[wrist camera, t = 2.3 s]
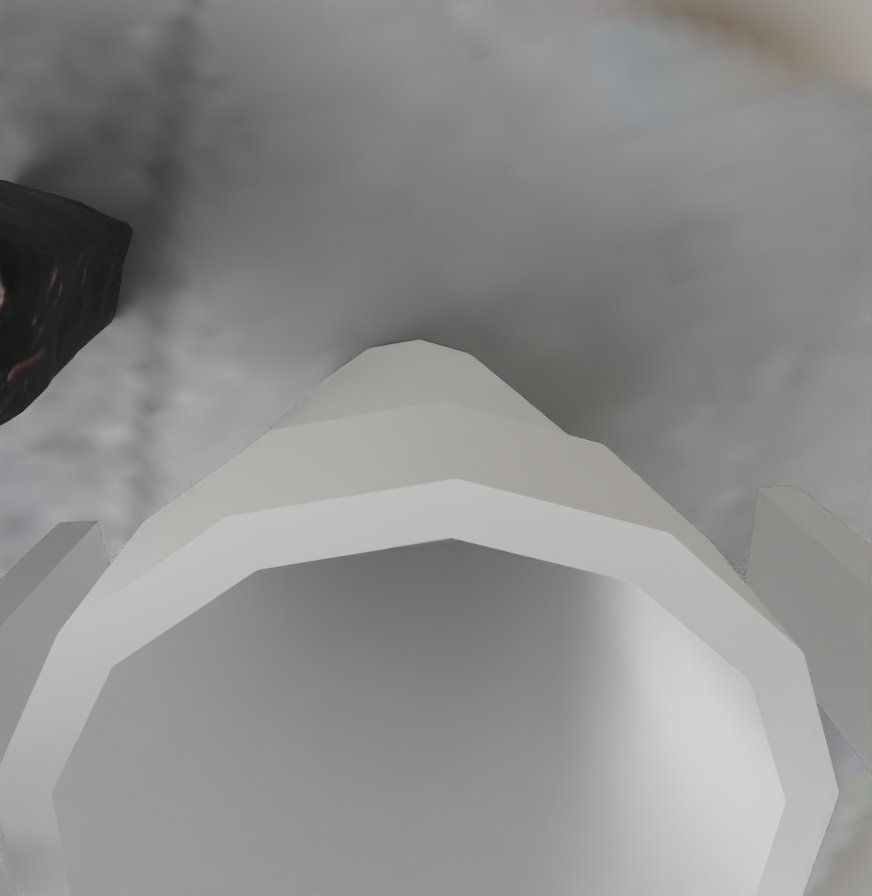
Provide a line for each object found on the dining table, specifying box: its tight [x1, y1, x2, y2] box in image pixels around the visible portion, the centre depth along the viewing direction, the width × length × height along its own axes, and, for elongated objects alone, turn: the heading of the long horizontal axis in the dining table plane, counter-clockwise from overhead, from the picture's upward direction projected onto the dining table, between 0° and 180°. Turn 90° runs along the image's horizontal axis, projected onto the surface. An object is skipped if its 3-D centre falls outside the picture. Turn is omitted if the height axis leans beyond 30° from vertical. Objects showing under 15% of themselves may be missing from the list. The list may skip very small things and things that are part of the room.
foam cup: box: [0, 339, 839, 896], centre depth 14 cm, size 10×9×13 cm
